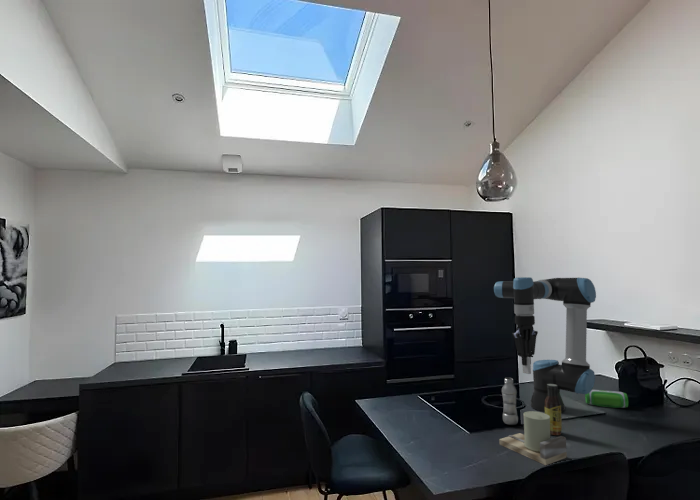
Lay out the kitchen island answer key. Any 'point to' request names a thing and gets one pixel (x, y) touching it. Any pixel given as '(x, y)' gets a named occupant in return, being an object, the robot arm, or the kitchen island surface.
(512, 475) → the kitchen island surface
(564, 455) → the rail board
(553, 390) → the sauce bottle
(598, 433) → the kitchen island surface
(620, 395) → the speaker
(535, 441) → the can
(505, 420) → the plastic bottle
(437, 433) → the kitchen island surface
